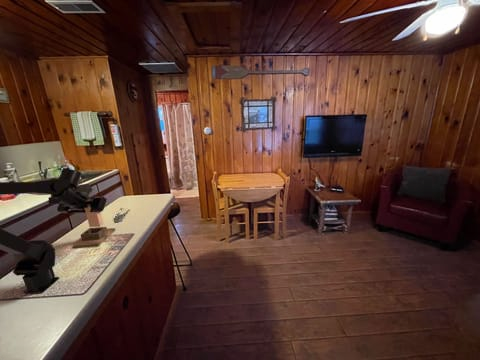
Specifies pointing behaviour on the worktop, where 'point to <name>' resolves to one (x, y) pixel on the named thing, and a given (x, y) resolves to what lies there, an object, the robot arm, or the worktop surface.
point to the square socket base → (94, 237)
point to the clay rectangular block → (94, 218)
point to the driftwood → (119, 217)
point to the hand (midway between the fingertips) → (95, 211)
